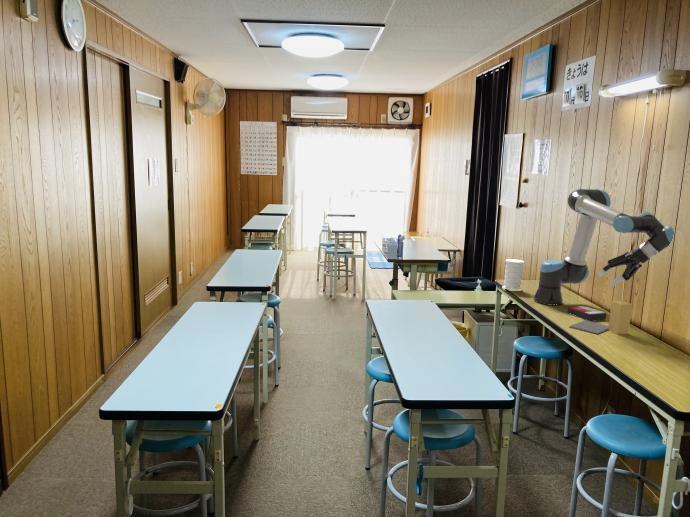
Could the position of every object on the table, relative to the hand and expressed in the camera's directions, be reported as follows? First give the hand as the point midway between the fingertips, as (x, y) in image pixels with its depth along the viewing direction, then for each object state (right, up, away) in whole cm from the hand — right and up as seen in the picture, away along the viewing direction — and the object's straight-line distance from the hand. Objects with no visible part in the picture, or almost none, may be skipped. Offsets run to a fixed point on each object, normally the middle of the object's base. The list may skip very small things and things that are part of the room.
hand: (604, 280), depth 257 cm
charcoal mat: (-7, -22, -2) cm, 24 cm away
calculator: (-1, -20, +19) cm, 27 cm away
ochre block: (+3, -24, -6) cm, 25 cm away
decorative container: (-22, -9, +71) cm, 75 cm away
